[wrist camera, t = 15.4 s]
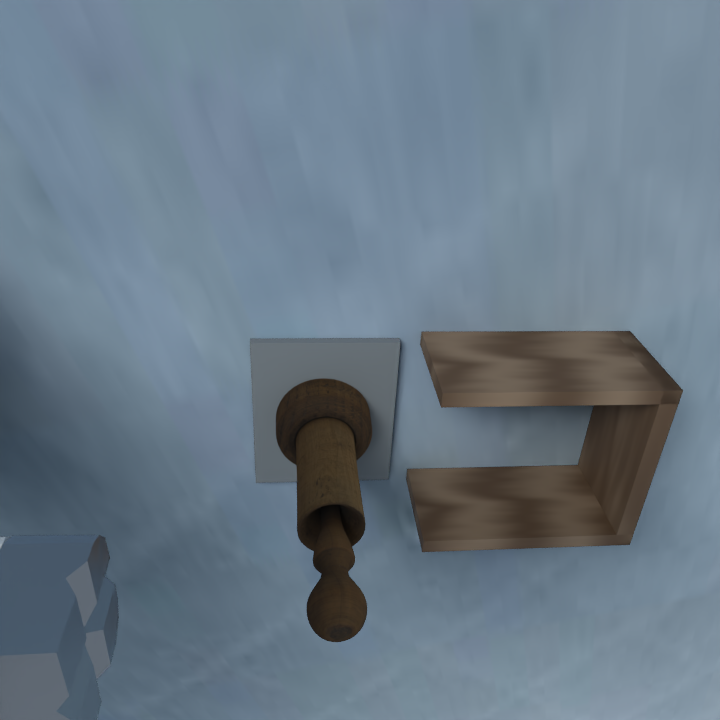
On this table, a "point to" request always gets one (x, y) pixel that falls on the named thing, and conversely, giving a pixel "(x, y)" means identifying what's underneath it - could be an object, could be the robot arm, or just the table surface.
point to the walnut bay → (546, 483)
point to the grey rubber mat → (330, 361)
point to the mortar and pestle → (328, 494)
